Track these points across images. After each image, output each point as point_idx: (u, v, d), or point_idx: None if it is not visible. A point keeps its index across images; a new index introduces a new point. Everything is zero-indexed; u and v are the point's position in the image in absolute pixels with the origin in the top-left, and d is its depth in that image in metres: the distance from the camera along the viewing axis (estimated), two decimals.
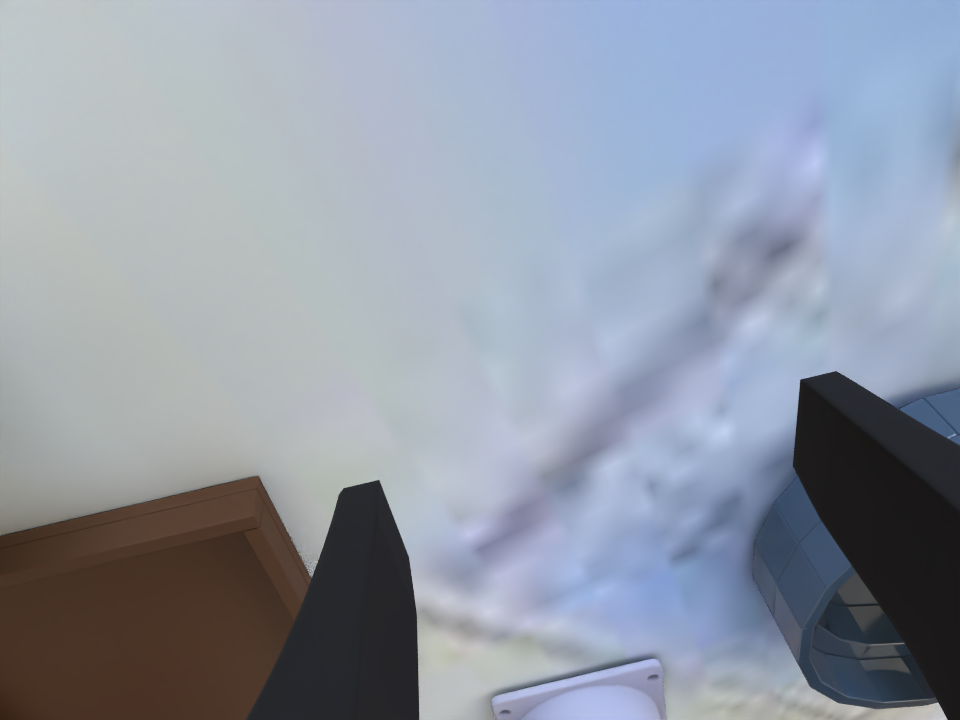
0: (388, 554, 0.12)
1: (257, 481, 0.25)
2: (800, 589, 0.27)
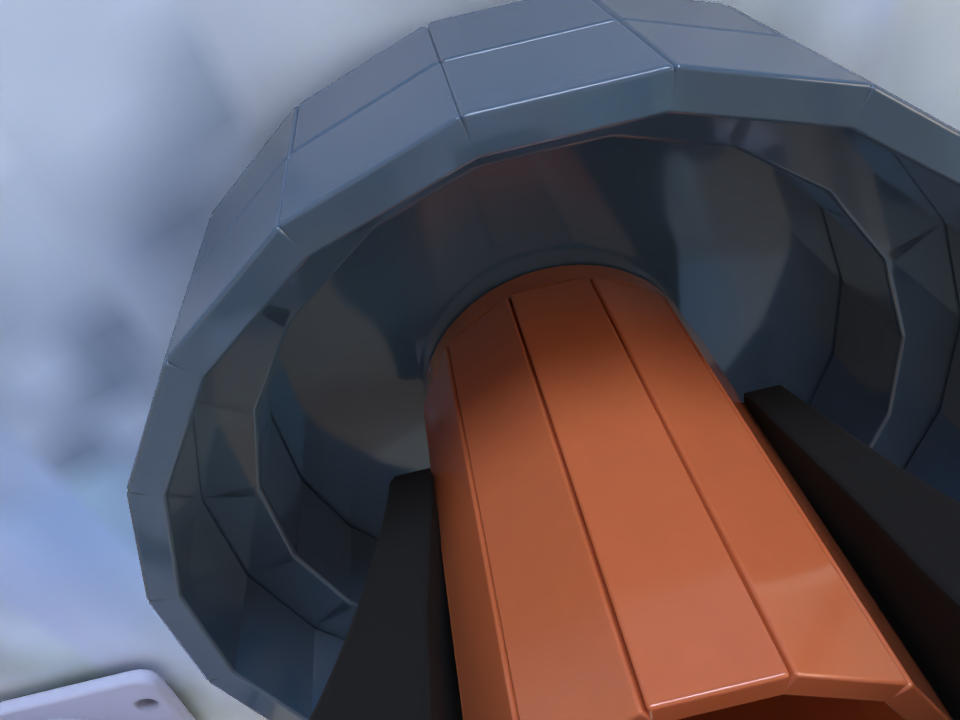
0: None
1: None
2: None
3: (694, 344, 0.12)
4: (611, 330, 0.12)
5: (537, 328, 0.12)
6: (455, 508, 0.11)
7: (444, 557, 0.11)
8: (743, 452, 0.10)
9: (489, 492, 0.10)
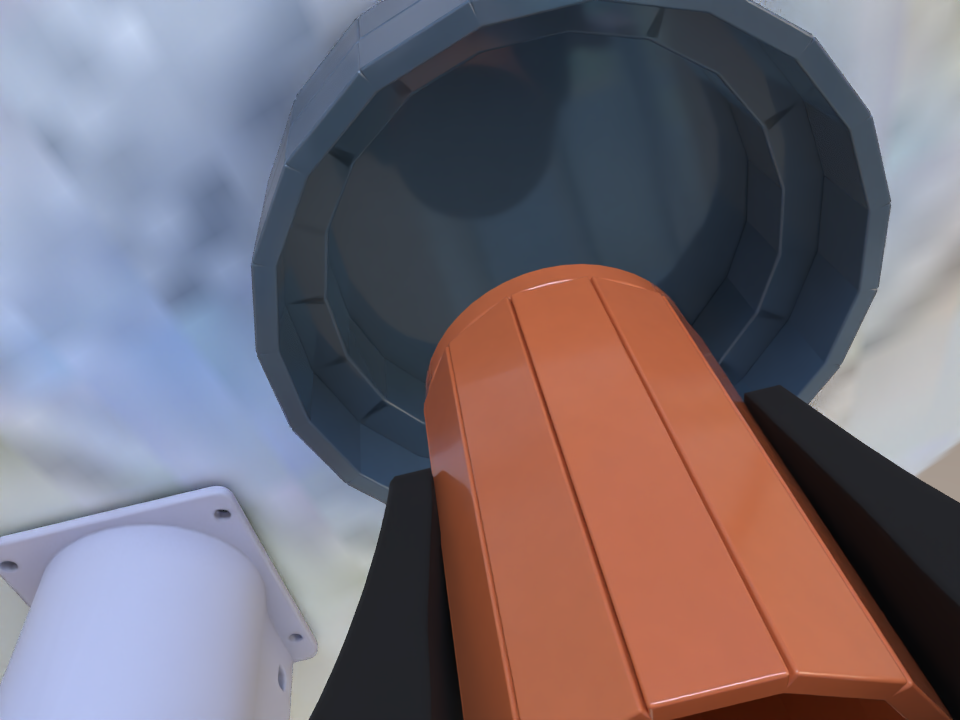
0: None
1: None
2: None
3: (694, 344, 0.12)
4: (611, 329, 0.12)
5: (537, 327, 0.12)
6: (455, 507, 0.11)
7: (444, 556, 0.11)
8: (743, 451, 0.10)
9: (489, 491, 0.10)
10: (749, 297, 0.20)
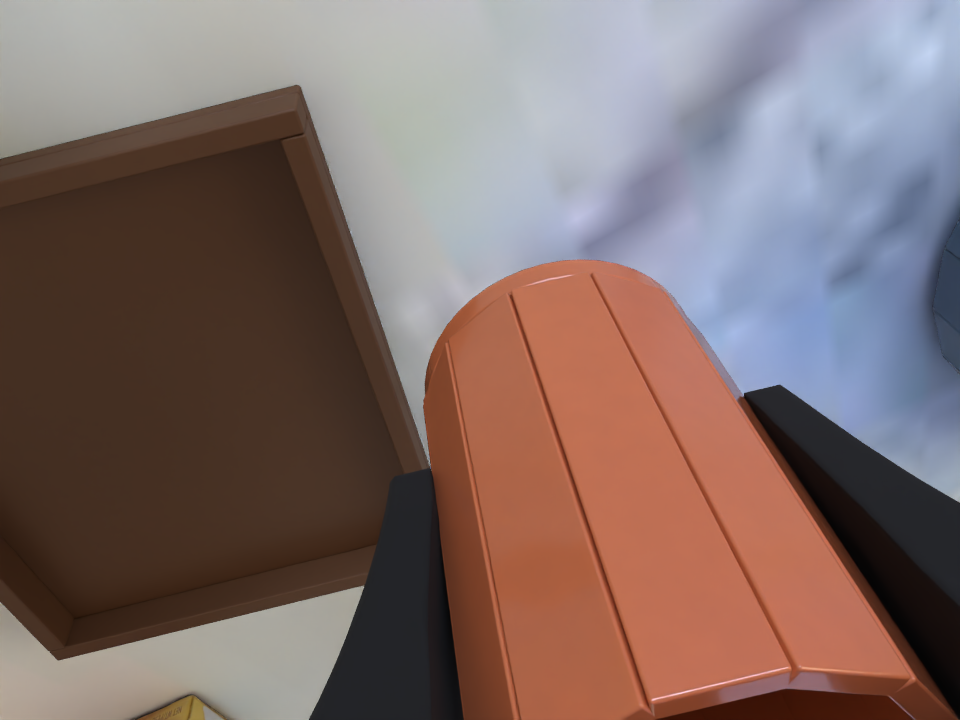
0: None
1: (298, 88, 0.18)
2: None
3: (695, 339, 0.12)
4: (612, 325, 0.12)
5: (538, 323, 0.12)
6: (455, 503, 0.11)
7: (444, 552, 0.11)
8: (745, 446, 0.10)
9: (489, 487, 0.10)
10: None
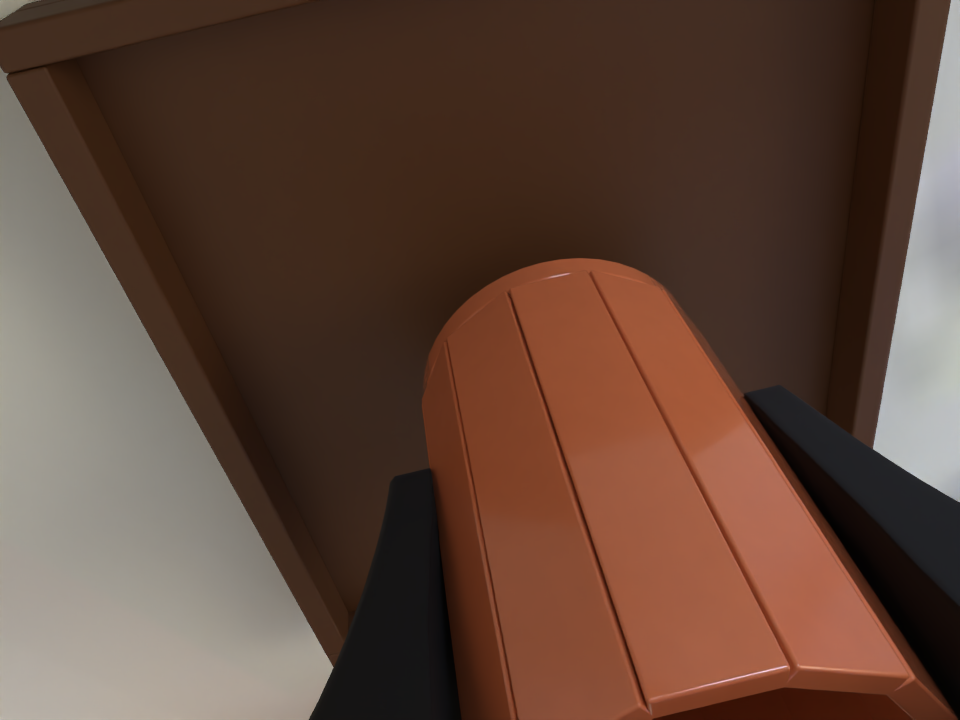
0: None
1: None
2: None
3: (694, 337, 0.12)
4: (610, 323, 0.12)
5: (536, 321, 0.12)
6: (453, 502, 0.11)
7: (442, 551, 0.11)
8: (743, 445, 0.10)
9: (487, 485, 0.10)
10: None
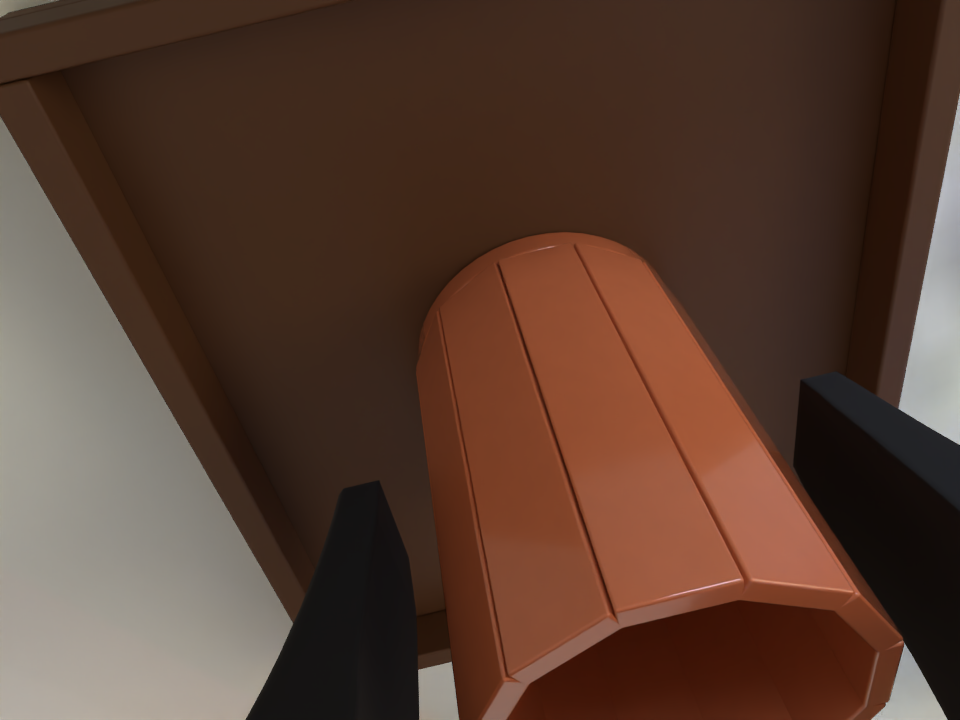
0: (388, 554, 0.12)
1: None
2: None
3: (671, 304, 0.13)
4: (592, 289, 0.12)
5: (522, 289, 0.13)
6: (444, 455, 0.12)
7: (434, 502, 0.12)
8: (713, 397, 0.11)
9: (475, 436, 0.11)
10: None
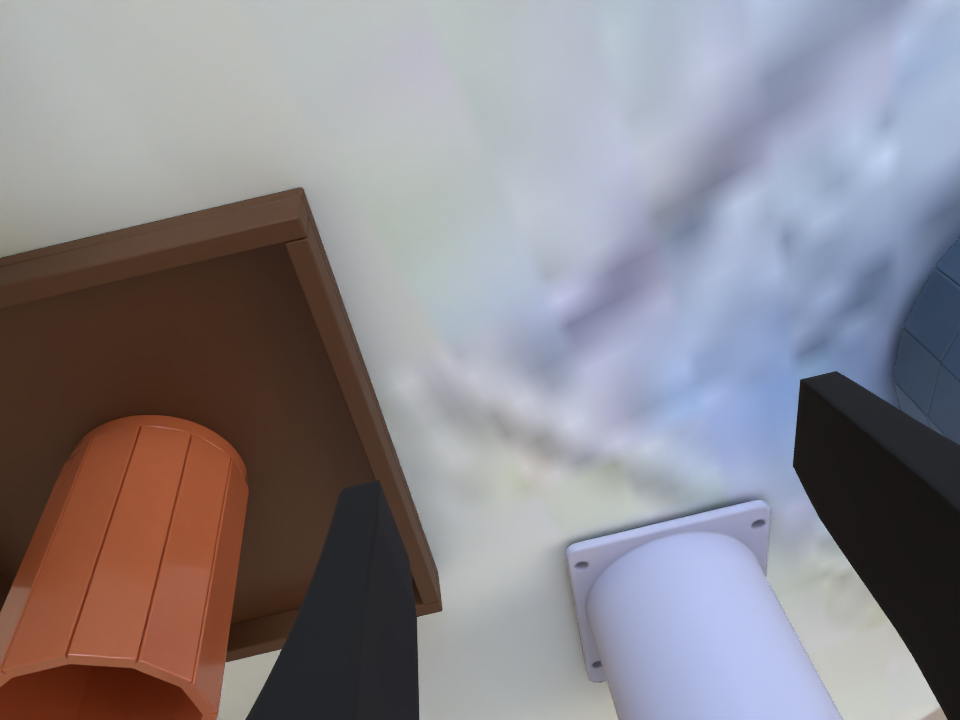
0: (388, 554, 0.12)
1: (301, 191, 0.20)
2: None
3: (185, 469, 0.21)
4: (125, 465, 0.21)
5: (91, 461, 0.21)
6: None
7: None
8: (149, 541, 0.19)
9: (25, 560, 0.19)
10: None
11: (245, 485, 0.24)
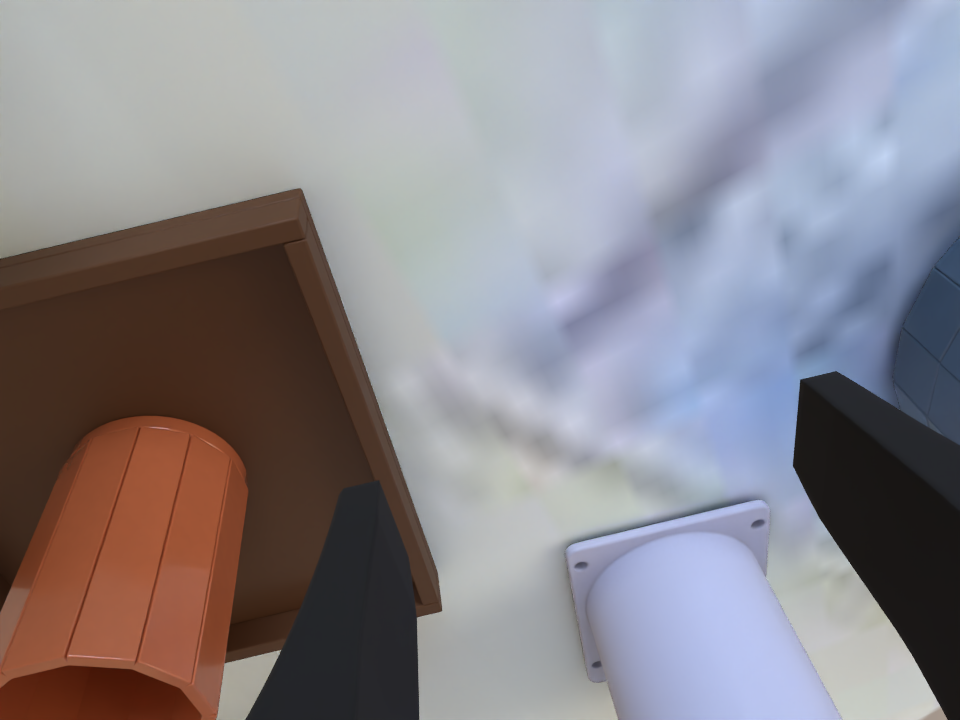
0: (388, 554, 0.12)
1: (300, 192, 0.20)
2: None
3: (184, 470, 0.21)
4: (124, 466, 0.21)
5: (90, 462, 0.21)
6: None
7: None
8: (149, 542, 0.19)
9: (25, 562, 0.19)
10: None
11: (244, 486, 0.24)
